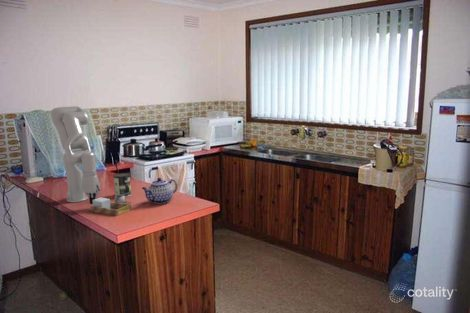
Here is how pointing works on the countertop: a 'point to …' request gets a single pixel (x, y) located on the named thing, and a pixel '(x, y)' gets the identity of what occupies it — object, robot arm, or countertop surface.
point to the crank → (125, 190)
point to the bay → (121, 206)
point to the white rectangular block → (102, 202)
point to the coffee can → (122, 183)
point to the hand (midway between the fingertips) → (93, 203)
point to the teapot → (160, 191)
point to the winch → (121, 200)
